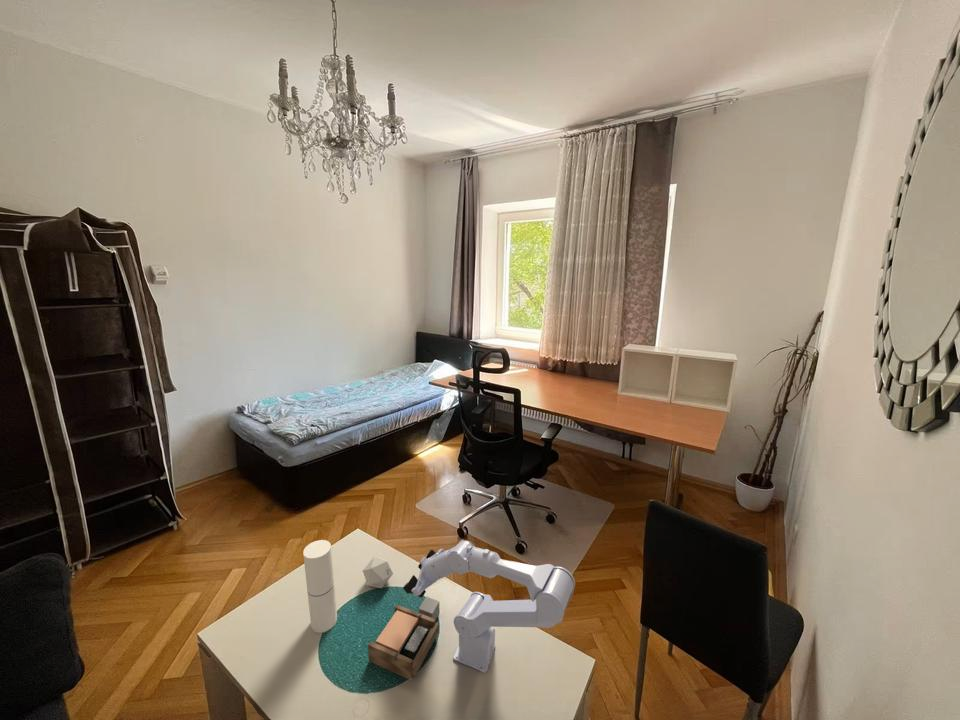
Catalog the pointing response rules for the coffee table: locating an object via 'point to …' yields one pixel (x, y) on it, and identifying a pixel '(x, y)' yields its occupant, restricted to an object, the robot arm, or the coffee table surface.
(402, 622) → the trapdoor
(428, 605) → the stone
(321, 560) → the cylindrical container
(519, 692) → the coffee table surface
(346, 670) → the coffee table surface
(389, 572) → the die
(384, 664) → the frame
